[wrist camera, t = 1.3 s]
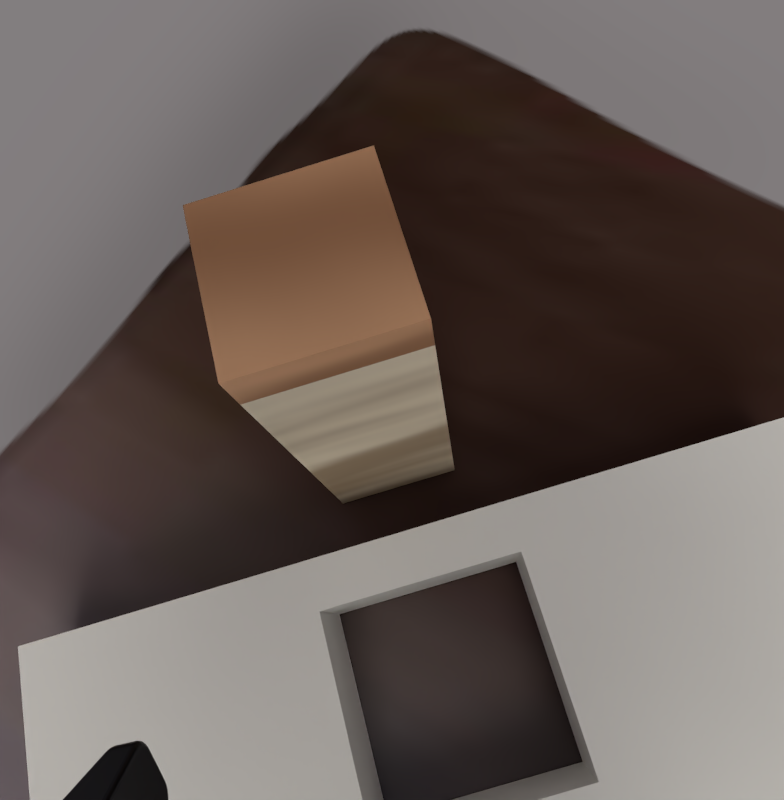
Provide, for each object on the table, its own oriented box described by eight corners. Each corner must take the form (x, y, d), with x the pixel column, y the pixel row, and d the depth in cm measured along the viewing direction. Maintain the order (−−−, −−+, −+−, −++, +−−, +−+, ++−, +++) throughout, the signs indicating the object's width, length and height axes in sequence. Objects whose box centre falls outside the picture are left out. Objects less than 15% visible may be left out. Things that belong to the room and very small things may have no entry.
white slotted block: (906, 731, 20) (978, 746, 17) (107, 959, 20) (46, 1012, 17) (764, 439, 23) (804, 411, 20) (74, 645, 23) (17, 646, 20)
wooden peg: (454, 470, 24) (431, 318, 12) (343, 503, 24) (218, 383, 12) (422, 366, 25) (373, 145, 14) (316, 398, 25) (182, 205, 14)
